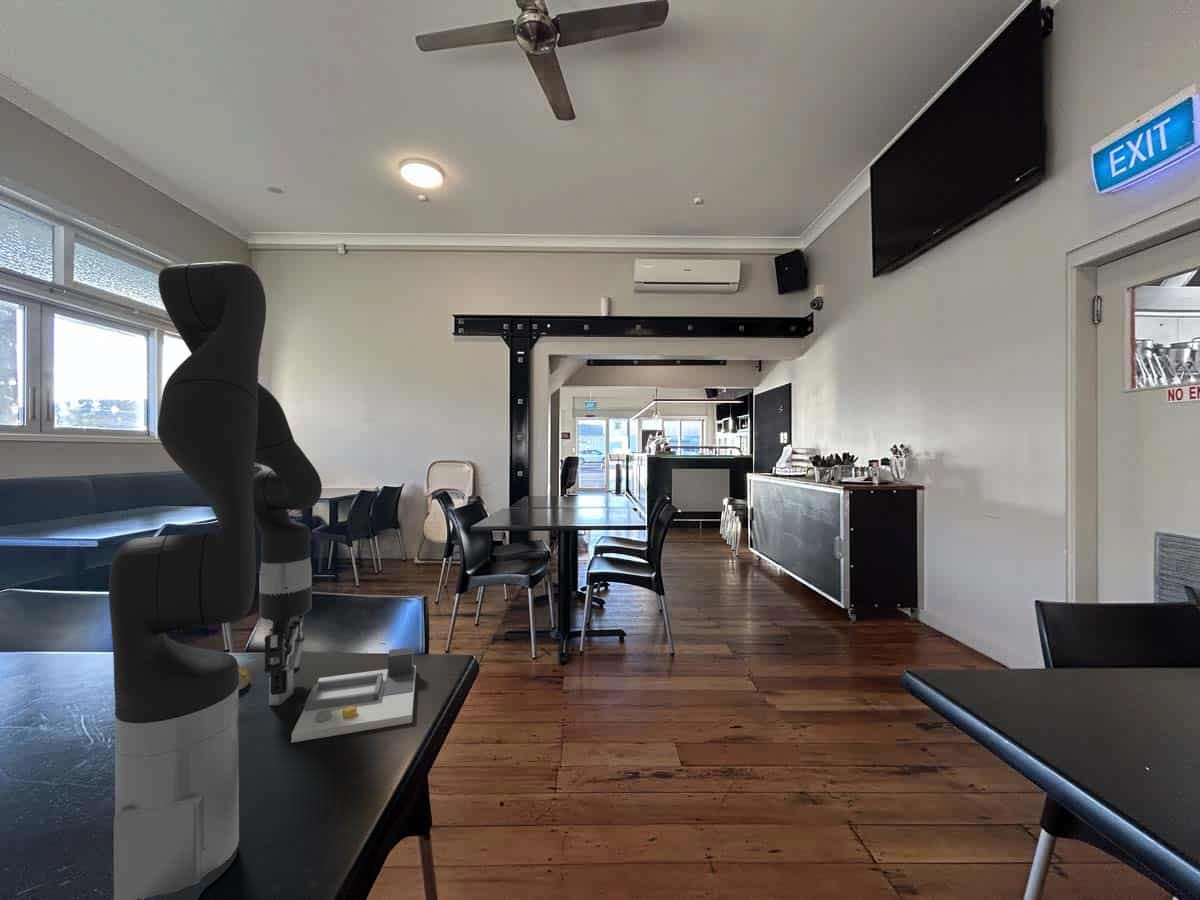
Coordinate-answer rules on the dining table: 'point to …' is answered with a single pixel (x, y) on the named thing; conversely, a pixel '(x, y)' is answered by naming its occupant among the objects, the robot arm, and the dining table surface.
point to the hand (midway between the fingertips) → (285, 682)
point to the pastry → (243, 678)
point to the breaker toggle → (400, 661)
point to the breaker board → (356, 704)
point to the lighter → (292, 664)
